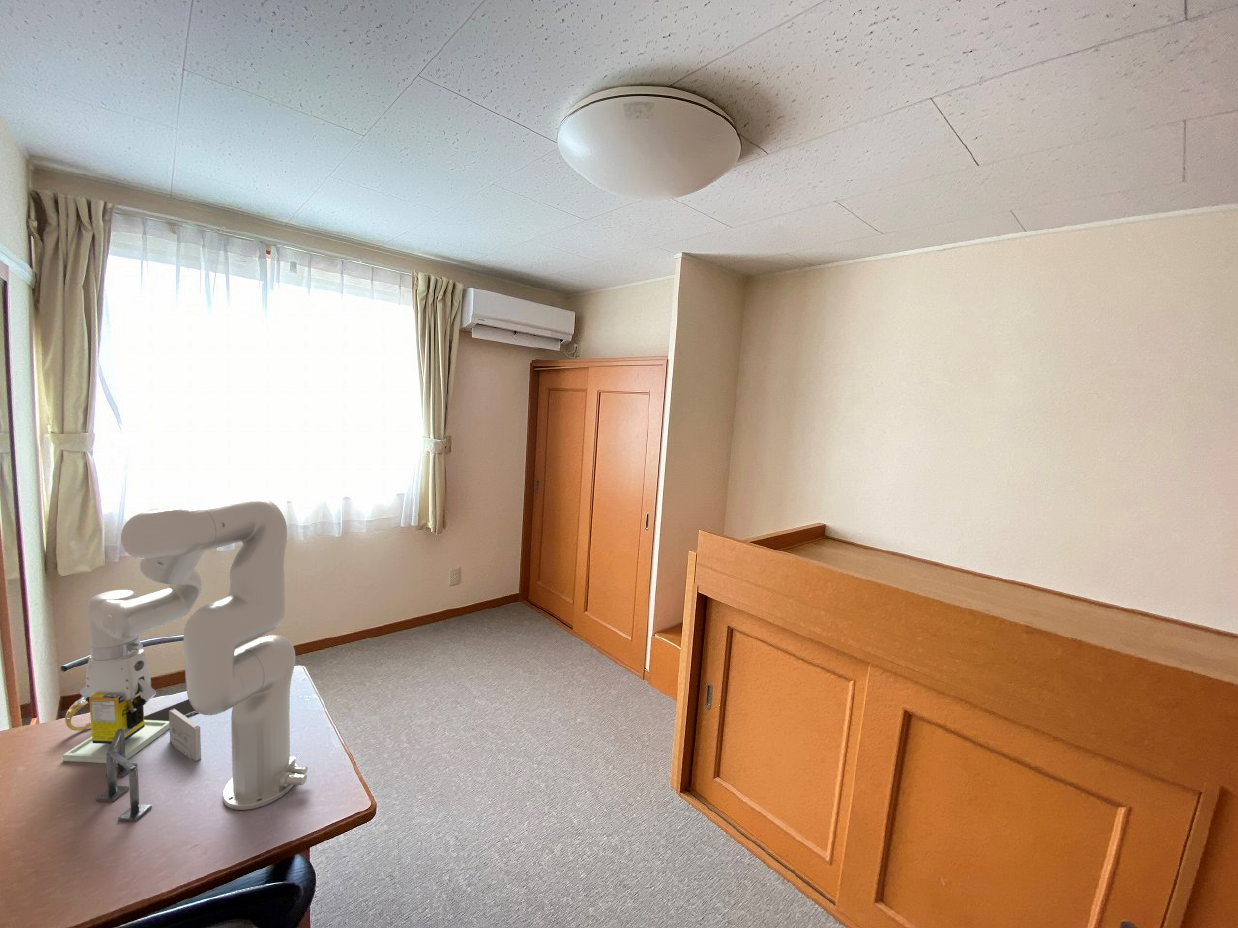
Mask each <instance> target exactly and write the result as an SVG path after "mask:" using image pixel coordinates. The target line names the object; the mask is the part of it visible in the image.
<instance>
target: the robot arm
mask: <svg viewBox="0 0 1238 928" xmlns="http://www.w3.org/2000/svg"><path fill="white" fill-rule="evenodd" d="M287 525H288V524H287V522H286V519H285V516H284V514H283V512H282V511H281V509H280V508H279V507H278V505H276V504H275V503H274V502H273V501H271V500H269V499H266V498H262V497H257V496H256V497H252V496H251V497H250V496H248V497H238V498H237V497H236V498H232V499H226V500H220V501H214V502H210V503H209V502H208V503H203V504H197V505H195V504H189V505H181V506H180V505H179V506H174V507H173V506H172V507H168V508H163V509H157V510H151V511H149V510H148V511H145V512H140V513H137V514H135V515H133V516H132V517H131V518H129V519H128V520H127V521H126V523H125V524H124V525H123V528H122V529H121V533H120V543H121V546H122V547H123V550H124V551H125V553H127V554H128V555H129V556H131V557H134V558H137V559H141V560H140V563H139V569H140V572H141V573H142V575H143V576H144V578H145V577H146V578H147V579H148V580H150V581H152V582H156V583H159V584H163V585H168V586H167V587H166V588H163V589H159V590H157V591H154V592H150V593H147V594H144V595H140V596H138V595H137V593H136V592H135V591H134V590H131V589H116V590H115V589H113V590H109V591H104V592H102V593H98V594H96V595H94V596H92V597H91V598H90V599H89V601H88V602H87V615H88V616H87V617H88V632H89V634H88V635H89V647H90V648H89V650H90V655H89V657H88V661H87V667H86V679H85V686H84V687H82V688H81V689H80V690H79V695H81V697H85V698H86V700H87V702H89V698H90V696H92V695H94V694H104V695H122V698H123V700H126V705H127V707H128V709H129V712H127V714H126V715H127V728H128V729H132V728H133V727H135V726H136V725H138V724H139V723H141V722H142V721H143V720H144V716H145V715H144V716H143V707H144V706H145V705H146V704H147V703H148V702H149V701H150V700H151V699H152V698H153V697H155V695H156V694H157V691H156V690H155V689H154V688H153V687H152V678H151V672H150V671H151V670H150V665H149V661H148V658H147V654H146V652H145V650H144V649H143V647H144V645H143V643H141V639H140V634H141V635H142V634H143V633H146V632H149V631H151V630H154V629H157V628H158V627H161V626H165V625H168V624H170V623H173V622H176V621H178V620H180V619H182V618H183V617H185V616H186V615H188V613H189V612H190V611H191V610H192V609H193V607H194V606H195V604H196V603H197V601H198V599H199V598H200V595H201V592H202V589H203V588H202V579H201V578H202V577H201V575H200V573H199V571H198V569H196V567H197V565H198V563H199V561H200V560H201V558H202V556H203V555H204V554H205V552H206V551H210V550H213V549H218V548H221V547H225V546H229V545H232V544H236V543H239V542H240V543H242V546H241V547H240V549H239V550H238V552H237V554H236V555H235V557H234V558H233V561H232V563H231V566H230V569H229V570H230V571H229V580H230V585H229V592H228V594H227V596H225V597H224V598H220V599H218V600H215V601H213V602H210V603H208V604H205V605H203V606H201V607H200V608H198V609H196V610H195V611H194V612H193V613H192V614H190V616H189V618H188V619H187V621H186V623H185V626H184V628H183V655H184V656H183V659H184V674H185V675H184V677H185V688H186V689H185V690H186V693H187V698H188V699H189V701H190V703H191V705H192V707H193V708H194V709H195V710H196V711H197V712H198V713H197V714H201V715H204V716H215V715H216V716H217V715H218V714H221V713H224V712H226V711H228V710H230V709H232V710H231V720H230V721H231V727H230V728H231V731H230V732H231V762H232V763H231V766H232V767H231V768H232V769H231V770H232V777H231V779H230V780H229V781H228V782H227V783H226V785H225V787H224V789H223V792H222V800H223V803H224V805H225V806H226V807H228V808H230V809H232V810H240V811H241V810H242V811H244V810H245V811H247V810H253V809H257V808H261V807H264V806H267V805H269V804H271V803H273V802H275V801H277V800H279V799H280V798H281V797H283V796H285V795H286V794H288V792H289V791H290V790H291V789H293V787H294V786H300V787H301V786H304V785H305V784H306V783H307V782H306V781H307V779H308V778H307V777H308V776H307V773H308V766H298V765H297V764H296V757H295V756H291V753H290V752H291V751H290V750H291V744H290V743H291V741H290V739H291V738H290V737H291V736H290V735H291V734H290V733H291V732H290V731H291V730H290V725H291V724H290V723H291V722H290V721H291V720H290V719H291V718H290V708H291V707H290V705H291V704H290V703H291V701H290V700H291V698H290V697H291V684H292V679H293V675H294V674H293V673H294V669H295V665H296V651H295V646H294V645H293V643H292V642H291V641H290V640H289V639H288V638H287V637H285V636H283V635H280V634H279V635H278V634H269V633H271V632H273V631H274V630H276V629H278V627H280V626H281V625H282V623H283V621H284V620H285V612H286V599H285V597H286V596H285V593H286V591H285V569H284V568H285V567H284V566H285V555H286V547H287V542H288V540H287V539H288V527H287ZM267 634H269V635H267ZM135 693H136V694H135ZM142 693H143V694H142ZM134 698H136V699H137V702H136V703H134V701H133V700H132V699H134ZM188 699H187V700H188Z"/></svg>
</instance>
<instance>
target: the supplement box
mask: <svg viewBox="0 0 1238 928" xmlns="http://www.w3.org/2000/svg"><path fill="white" fill-rule="evenodd" d="M135 694H136V693H135ZM142 694H143V693H142ZM132 700H133V701H134V703H136V702H137V699H136V698H134V699H132ZM88 704H89V713H90V724H91V729H90V730H91V736H92V742H93V743H100V744H111V743H112V741H113V739H114V736H115V734H116V732H117V730H118V729H122V730H124V738H125V740H127V739H128V738H130V737H131V736H132V735H134V734H135V733H137V732H138V731H140V730H141V729H142V728H144V727H145V724H144V720H143V721H142V722H141V723H139V724H138V725H136V726H135V727H133V728H132V729H128V728H127V715H126V714H127V712H129V709H128V707H127V705H126V700H123V698H122V695H104V694H94V695H92V696H90V698H89V703H88ZM144 710H145V709H144V706H143V716H145V711H144Z"/></svg>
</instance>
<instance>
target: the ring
mask: <svg viewBox="0 0 1238 928" xmlns="http://www.w3.org/2000/svg"><path fill="white" fill-rule="evenodd" d="M88 704H90V703H89V702H87V700H86V698H85V697H83V696H80V698H79V699H78V700H76V701H75V702H74V703H73V704H71V706H69V709H68V710H67V711H66V714H65V716H64V717H65V718H64V722H65V725H66V726H67V728H68V729H70V730H72V731H84V730H86V731H87V730H88V731H89V730H92V729H91V722H90V723H86V724H85V725H81V726H76V725H73V724H72V719H73V717H74V715H75V714H76V713H77V712H78V711H80V710H81V709H82V708H84V707H85V705H88ZM67 718H70V719H67Z"/></svg>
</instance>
